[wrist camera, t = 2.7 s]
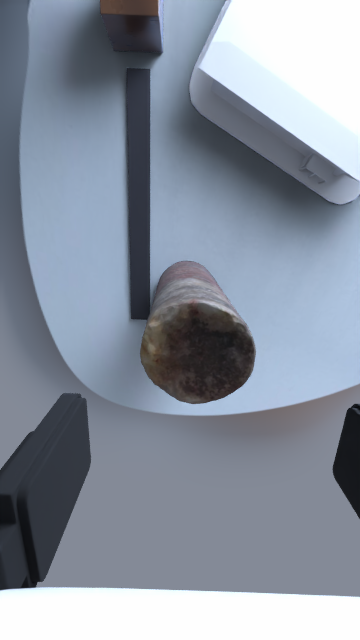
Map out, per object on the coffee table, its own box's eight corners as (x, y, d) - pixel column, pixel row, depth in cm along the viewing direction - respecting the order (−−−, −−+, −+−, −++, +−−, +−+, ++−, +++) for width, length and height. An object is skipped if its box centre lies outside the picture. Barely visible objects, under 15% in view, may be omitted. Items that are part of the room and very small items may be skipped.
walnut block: (113, 51, 28) (100, 13, 23) (112, -14, 27) (96, -67, 22) (162, 53, 28) (159, 16, 23) (163, -12, 27) (159, -65, 22)
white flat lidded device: (347, 214, 33) (369, 211, 29) (178, 99, 29) (178, 79, 26) (444, 77, 29) (483, 53, 25) (261, -74, 25) (275, -128, 22)
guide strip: (131, 318, 37) (131, 319, 36) (126, 69, 29) (126, 67, 28) (149, 319, 37) (149, 319, 36) (150, 70, 29) (149, 68, 28)
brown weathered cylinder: (223, 308, 36) (270, 391, 17) (170, 326, 37) (160, 425, 18) (204, 251, 34) (234, 274, 15) (149, 272, 35) (111, 319, 16)
